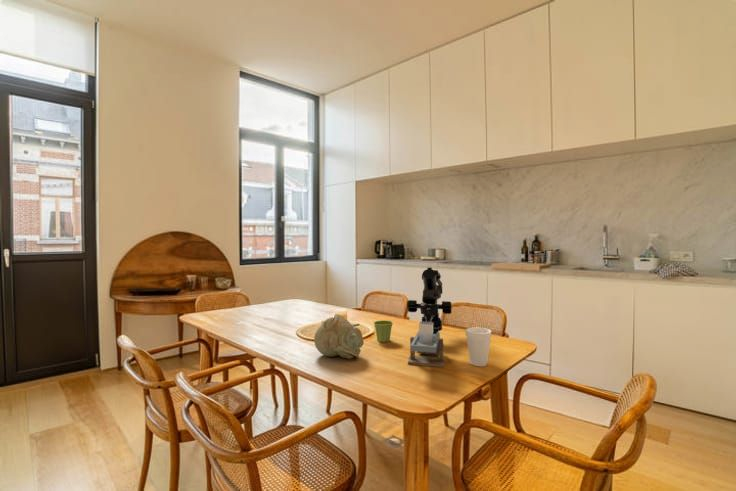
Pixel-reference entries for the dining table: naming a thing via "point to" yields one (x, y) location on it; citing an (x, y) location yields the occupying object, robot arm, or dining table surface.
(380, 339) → the plant pot
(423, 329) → the white block
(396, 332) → the dining table surface
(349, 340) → the sculpture
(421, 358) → the seesaw stand
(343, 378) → the dining table surface
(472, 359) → the foam cup
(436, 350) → the beam
